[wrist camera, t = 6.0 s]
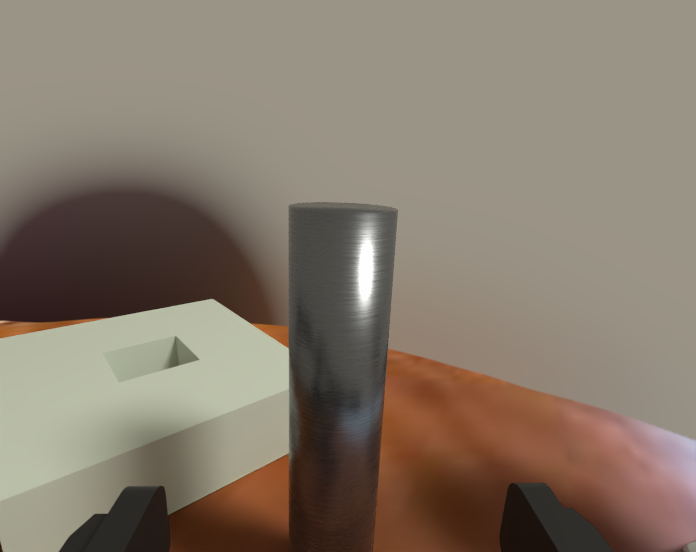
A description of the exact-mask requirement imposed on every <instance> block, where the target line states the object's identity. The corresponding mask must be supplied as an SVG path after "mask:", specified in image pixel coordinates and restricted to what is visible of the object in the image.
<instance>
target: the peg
mask: <svg viewBox="0 0 696 552" xmlns="http://www.w3.org/2000/svg"><path fill="white" fill-rule="evenodd" d="M397 214H398V210H397V209H394V208H391V207H386V206H379V205H369V204H356V203H327V202H321V203H320V202H317V203H298V204H292V205H290V206H289V552H373V544H374V531H375V517H376V503H377V489H378V476H379V462H380V448H381V434H382V421H383V407H384V393H385V379H386V366H387V352H388V338H389V324H390V311H391V297H392V296H391V295H392V282H393V268H394V255H395V242H396V228H397Z"/></svg>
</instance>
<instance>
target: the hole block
mask: <svg viewBox="0 0 696 552" xmlns="http://www.w3.org/2000/svg"><path fill="white" fill-rule="evenodd" d="M288 453H289V349H288V348H287V347H285V346H284V345H282V344H281V343H279V342H277V341H276V340H274V339H273V338H271V337H270V336H268V335H267V334H265V333H264V332H262V331H261V330H259V329H258V328H256V327H255V326H253V325H252V324H250V323H248V322H247V321H245V320H244V319H242V318H241V317H239V316H238V315H236V314H235V313H233V312H232V311H230V310H228V309H227V308H226V307H224V306H222V305H221V304H220V303H218V302H216V301H215V300H213V299H210V300H204V301H199V302H194V303H188V304H183V305H177V306H172V307H167V308H161V309H156V310H151V311H146V312H140V313H135V314H129V315H124V316H119V317H114V318H108V319H103V320H97V321H92V322H87V323H81V324H76V325H70V326H65V327H60V328H54V329H49V330H44V331H38V332H33V333H28V334H22V335H17V336H12V337H6V338H1V339H0V542H1V546H2V550H3V552H59V550H60V549H61V548H62V546H63V545H64V543H65V542H66V540H67V539H68V537H69V536H70V535H71V534H72V533H74V532H75V531H76V530H77V529H78V528H79V527H80V526H81V525H83V524H84V523H85V522H86V521H87V520H88V519H89V518H91V517H92V516H93V515H94V514H108V513H109V511H110V509H111V508H112V506H113V505H114V503H115V501H116V500H117V498H118V497H119V495H120V493H121V492H122V491H123V489H124V488H126V487H127V486H163V487H164V488H165V492H166V501H167V511H168V515H169V514H171V513H173V512H175V511H177V510H179V509H181V508H183V507H185V506H187V505H189V504H191V503H193V502H195V501H197V500H199V499H201V498H202V497H204V496H206V495H208V494H210V493H212V492H214V491H216V490H218V489H220V488H222V487H224V486H226V485H228V484H230V483H232V482H234V481H236V480H238V479H240V478H241V477H243V476H245V475H247V474H249V473H251V472H253V471H255V470H257V469H259V468H261V467H263V466H265V465H267V464H269V463H271V462H273V461H275V460H277V459H279V458H280V457H282V456H284V455H286V454H288Z"/></svg>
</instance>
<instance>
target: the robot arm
mask: <svg viewBox="0 0 696 552" xmlns="http://www.w3.org/2000/svg"><path fill="white" fill-rule="evenodd" d="M500 546H501V551H502V552H614V551H613V550H612V549H611V547H610V546H609V545H608V543H607V542H606V541H605V539H604V538H603V537H602V535H601V534H600V533H599V531H598V530H597V529H596V528H595V527H594V526H593V525H592V524H591V523H590V522H588V521H587V520H586V519H585V518H584V517H582V516H581V515H580V514H579V513H578V512H576V511H575V510H574V509H573V508H564V507H563V506H562V505H561V503H560V502H559V500H558V499H557V497H556V496H555V495H554V493H553V492H552V490H551V489H550V488H549V487H548V486H547V485H546V484H545V483H512V484H510V485H509V488H508V491H507V497H506V502H505V508H504V513H503V518H502V524H501V529H500ZM169 549H170V530H169V521H168V511H167V501H166V492H165V488H164V487H163V486H127V487H126V488H124V489H123V491H122V492H121V493H120V495H119V497H118V498H117V500H116V501H115V503H114V505H113V506H112V508H111V509H110V511H109V513H108V514H94V515H93V516H92V517H91V518H89V519H88V520H87V521H86V522H85V523H84V524H83V525H81V526H80V527H79V528H78V529H77V530H76V531H75V532H74V533H72V534H71V535H70V536H69V537H68V539H67V540H66V542H65V543H64V545H63V546H62V548H61V549H60V550H59V552H169Z"/></svg>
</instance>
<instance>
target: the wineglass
mask: <svg viewBox="0 0 696 552" xmlns="http://www.w3.org/2000/svg"><path fill="white" fill-rule="evenodd" d="M683 552H696V541H695V542H692V543H689V544H687V545H686V546H685V547H684V548H683Z"/></svg>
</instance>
